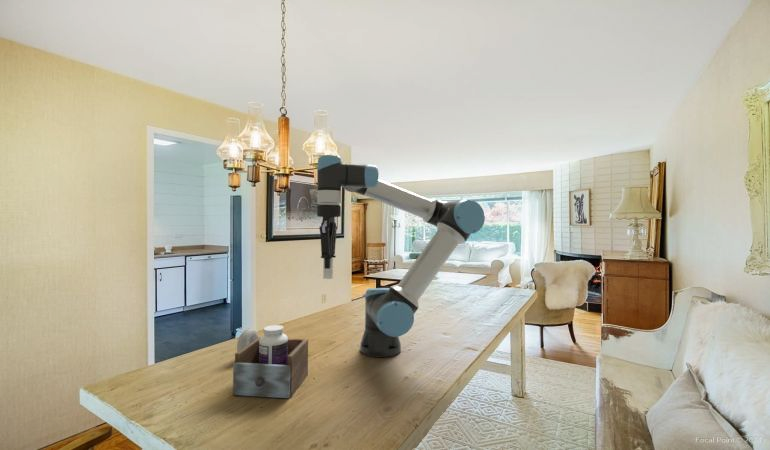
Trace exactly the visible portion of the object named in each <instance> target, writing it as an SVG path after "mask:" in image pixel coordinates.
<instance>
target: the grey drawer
mask: <svg viewBox="0 0 770 450" xmlns="http://www.w3.org/2000/svg"><path fill="white" fill-rule="evenodd" d="M232 366H233V367H232V368H233V370H232V371H233V373H232V395H233V396H245V397H246V396H247V397H261V398H263V397H264V398H277V399H278V398H279V399H290V398H291V397H290V376H291V365H277V364H258V363H239V362H235V361H234V362H233V364H232Z"/></svg>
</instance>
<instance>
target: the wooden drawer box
mask: <svg viewBox="0 0 770 450" xmlns="http://www.w3.org/2000/svg"><path fill="white" fill-rule="evenodd" d="M261 337H262V336H258V338H257V339H255V340H254V341H252V342H251V343H249V344H248V345H247V346H245V347H244V348H242V349H241V350H239V351H238V352H235V353H234V363H235V362H239V363H258V364H259V340H260V338H261ZM287 365H291V376H290V397H289V398H292V397H293V395H295V393H296V392H297V390H298V389H299V388H300V386H301V385H302V383H303V382H304V381H305V379H306V378H307V376H308V374H309V339H308V338H291V337H290V338H289V337H288V356H287Z"/></svg>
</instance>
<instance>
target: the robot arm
mask: <svg viewBox="0 0 770 450" xmlns="http://www.w3.org/2000/svg"><path fill="white" fill-rule="evenodd" d="M378 169H379V168H378V166H377V165H374V164H369V163H368V164H366V163H365V164H364V163H363V164H362V163H347V162H346V163H345V162H343V161H342V157H341V156H339V155H334V154H323V155H321V156H319V157H318V159H317V171H316V173H317V175H316V177H317V179H316V180H317V182H316V185H317V187H316V188H317V193H316V194H315V197H317V199H316V201H317V204H318V205H317V206H316V216H317V217H318V218H319V217H320V218H322V222H321V225H320V226H319V233H320V247H321V248H320V251H321V253H320V254H321V256H320V258H321V259H323V266H322V267H323V275H322V276H323V280H325V279H327V280H329V279H330V280H332V279H334V276H333V275H334V269H333V268H334V258H336V257H337V255H335V254H336V240H337V230H338V226H337V223H336V221H335V220H336V218H340V217H341V215H342V213H341V212H342V211H341V210H342V208H341V207H342V206H341V205H340V204H341V203H342V187H343V189H344V190H345V191H347V192H350V193H357V194H358V195H362V196H364V197H366V198H370V199H372V200H375V201H376V202H380V203H382V204H385V205H388V206H390V207H393V208H396V209H397V210H401V211H402V212H403V211H404V212H406V213H407V214H408V213H409V214H411V215H414V216H417V217H419V218H422V220H423V222H424V223H427V224H430V225H432V226H433V227H436V228H437V230H436V232H435V233H434V235H433V236H432V237H431V239H430V240H429V241H428V242H427V245H426V246H425V247H424V249H422V251H421V253H420V254H419V255H418V256H417V258H416V260H415V261H414V262H413V263H412V265H411V266H410V268H409V269H408V271H407V272H406V273H405V274H404V276H403V277H402V279H401V280H400V281H399V283H398V284H396V285H393V286H390V287H377V288H376V287H375V288H373V287H372V288H368V289H366V291H365V296H364V299H365V308H364V310H365V311H364V312H365V319H364V324H365V326H364V332H363V334H362V338H361V341H360V342H359V343H360V345H359V347H360V348H359V350H360V352H361V353H362V354H363V355H365V356H368V357H373V358H390V357H393V356H396V355H398V354H400V353H401V347H402V345H401V341H400V337H401V336H404V335H406V334H407V333H408V332H409V331H410V330H411V329H412V327H413V326H414V323H415V314H416V312H417V311H418V310H419V307H420V306H419V300H420V298H421V297H422V296H423V294H424V293H425V292H426V290H427V289H428V287H429V286H430V285H431V283H432V282H433V280H434V279H435V278H436V276H437V275H438V273H439V272H440V270H441V269H442V267H443V266H444V265H445V263H446V262H447V260H448V259H449V258H450V256H452V254H453V252H454V251H455V249H456V248H457V247H458V245H461V244H465V243H466V241H467V240H468V239H469V237H471V235H472V234H475V233H476V234H477V233H478V232H480V230H482V228H483V226H484V224H485V219H486V216H485V212H484V208H483V207H482V206H481V204H480V203H479V202H477V201H476V200H474V199H468V198H462V199H460V200H453V201H452V200H451V201H445V200H443V201H442V200H440V199H437V198H434V197H433V198H431V199H429V198H426V197H425V196H421V195H419V194H418V193H417V194H416V193H414V192H412V191H409V190H406V189H404V188H401V187H399V186H396V185H394V184H391V183H389V182H387V181H384V180H381V179H379V170H378Z"/></svg>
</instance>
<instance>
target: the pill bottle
mask: <svg viewBox="0 0 770 450" xmlns="http://www.w3.org/2000/svg"><path fill="white" fill-rule="evenodd" d="M284 329H285V328H284V326H283V325H279V324H276V325H275V324H273V325H267V326H265V327H264V328H263V335H261V336H260V337H261V338H260V340H259V364H277V365H287V356H288V338H289V337H288V335H286V333H284Z"/></svg>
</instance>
